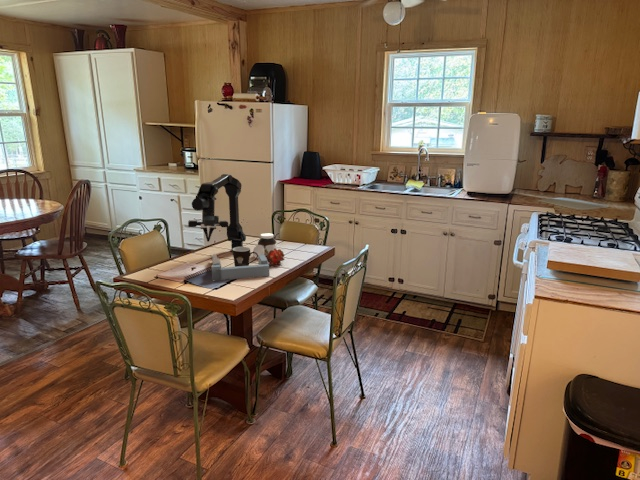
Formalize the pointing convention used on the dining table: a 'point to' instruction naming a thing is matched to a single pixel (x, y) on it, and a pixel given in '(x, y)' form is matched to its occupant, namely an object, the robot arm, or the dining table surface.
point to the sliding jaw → (215, 260)
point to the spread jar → (265, 245)
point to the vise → (241, 270)
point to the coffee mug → (242, 256)
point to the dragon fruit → (275, 256)
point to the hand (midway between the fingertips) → (208, 241)
